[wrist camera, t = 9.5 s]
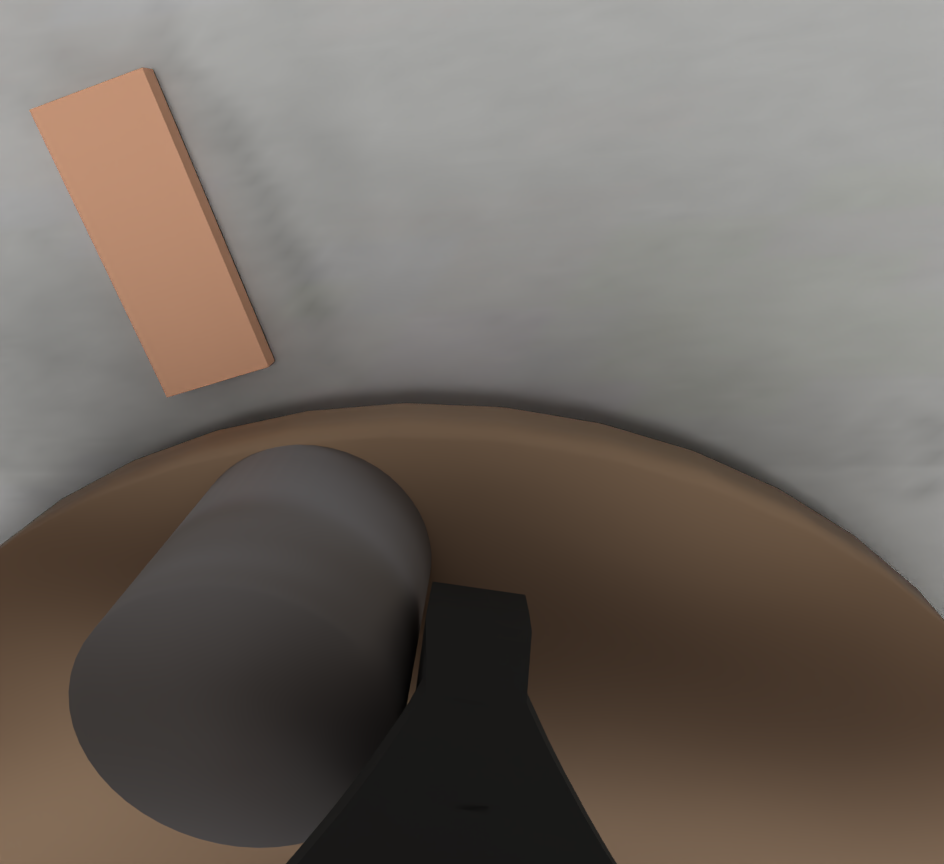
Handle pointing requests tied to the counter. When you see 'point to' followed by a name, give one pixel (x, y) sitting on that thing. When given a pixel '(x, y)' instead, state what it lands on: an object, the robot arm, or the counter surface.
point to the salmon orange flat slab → (154, 230)
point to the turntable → (401, 633)
